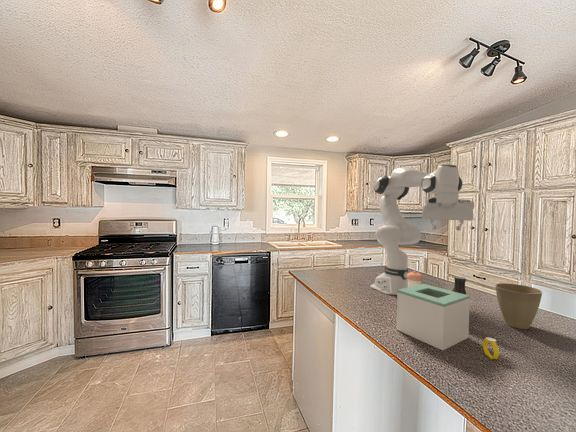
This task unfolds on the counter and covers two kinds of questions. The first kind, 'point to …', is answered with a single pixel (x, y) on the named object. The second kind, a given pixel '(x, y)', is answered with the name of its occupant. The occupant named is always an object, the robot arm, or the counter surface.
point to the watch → (495, 347)
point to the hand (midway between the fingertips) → (446, 229)
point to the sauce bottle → (459, 285)
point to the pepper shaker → (414, 278)
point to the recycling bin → (433, 315)
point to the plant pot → (518, 304)
